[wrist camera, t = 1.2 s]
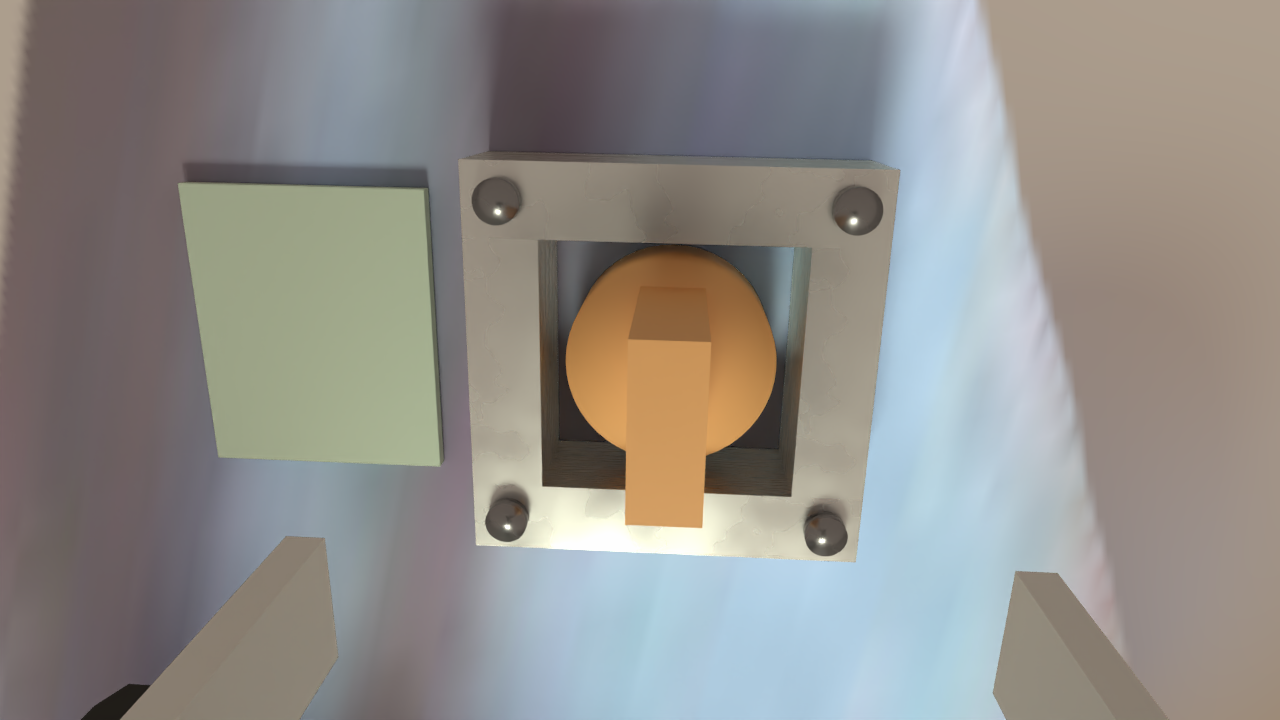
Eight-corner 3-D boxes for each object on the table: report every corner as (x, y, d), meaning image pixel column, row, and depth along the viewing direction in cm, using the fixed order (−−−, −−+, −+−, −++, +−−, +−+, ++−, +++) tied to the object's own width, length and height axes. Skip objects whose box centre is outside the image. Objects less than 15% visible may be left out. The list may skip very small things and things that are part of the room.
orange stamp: (761, 430, 36) (790, 560, 26) (577, 423, 36) (536, 549, 26) (774, 247, 33) (812, 311, 23) (576, 241, 33) (530, 302, 23)
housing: (835, 507, 36) (858, 570, 32) (500, 493, 37) (472, 552, 32) (871, 160, 32) (904, 171, 27) (488, 151, 32) (453, 160, 28)
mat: (443, 460, 37) (440, 466, 36) (225, 451, 37) (218, 457, 37) (428, 188, 33) (423, 189, 32) (186, 181, 34) (177, 183, 33)
